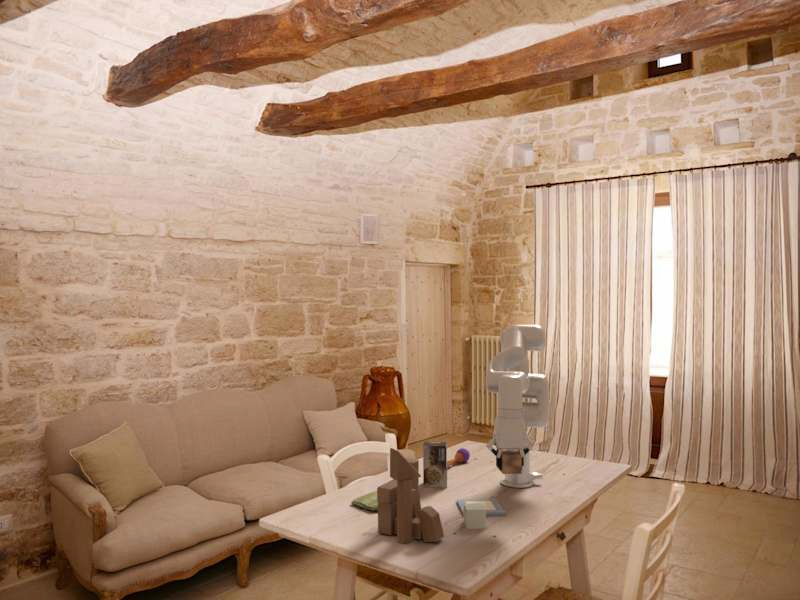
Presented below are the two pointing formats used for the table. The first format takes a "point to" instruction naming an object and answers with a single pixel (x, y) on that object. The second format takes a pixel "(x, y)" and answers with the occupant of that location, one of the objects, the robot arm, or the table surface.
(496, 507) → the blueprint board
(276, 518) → the table surface
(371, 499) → the washcloth
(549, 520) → the table surface
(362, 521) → the table surface
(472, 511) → the sage block
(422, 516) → the wooden blocks
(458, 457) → the kendama
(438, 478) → the coffee box
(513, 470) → the walnut block
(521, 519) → the table surface
